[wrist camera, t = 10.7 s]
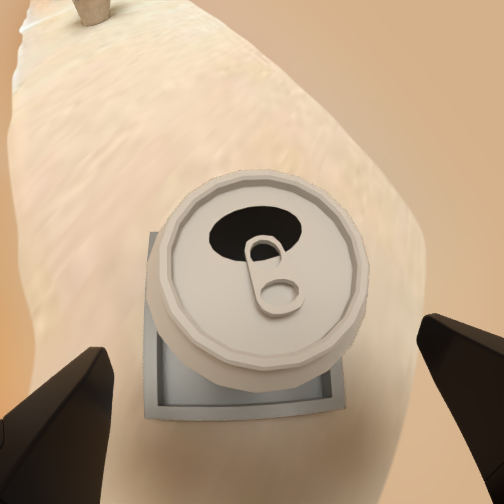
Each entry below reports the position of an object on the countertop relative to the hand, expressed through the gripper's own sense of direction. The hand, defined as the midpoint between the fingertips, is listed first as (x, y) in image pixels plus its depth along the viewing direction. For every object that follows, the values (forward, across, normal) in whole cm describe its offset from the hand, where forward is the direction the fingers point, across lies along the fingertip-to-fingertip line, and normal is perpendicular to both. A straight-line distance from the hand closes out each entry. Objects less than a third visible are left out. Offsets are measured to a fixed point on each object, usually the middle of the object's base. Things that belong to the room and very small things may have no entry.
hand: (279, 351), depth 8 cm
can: (+10, 0, +7) cm, 12 cm away
